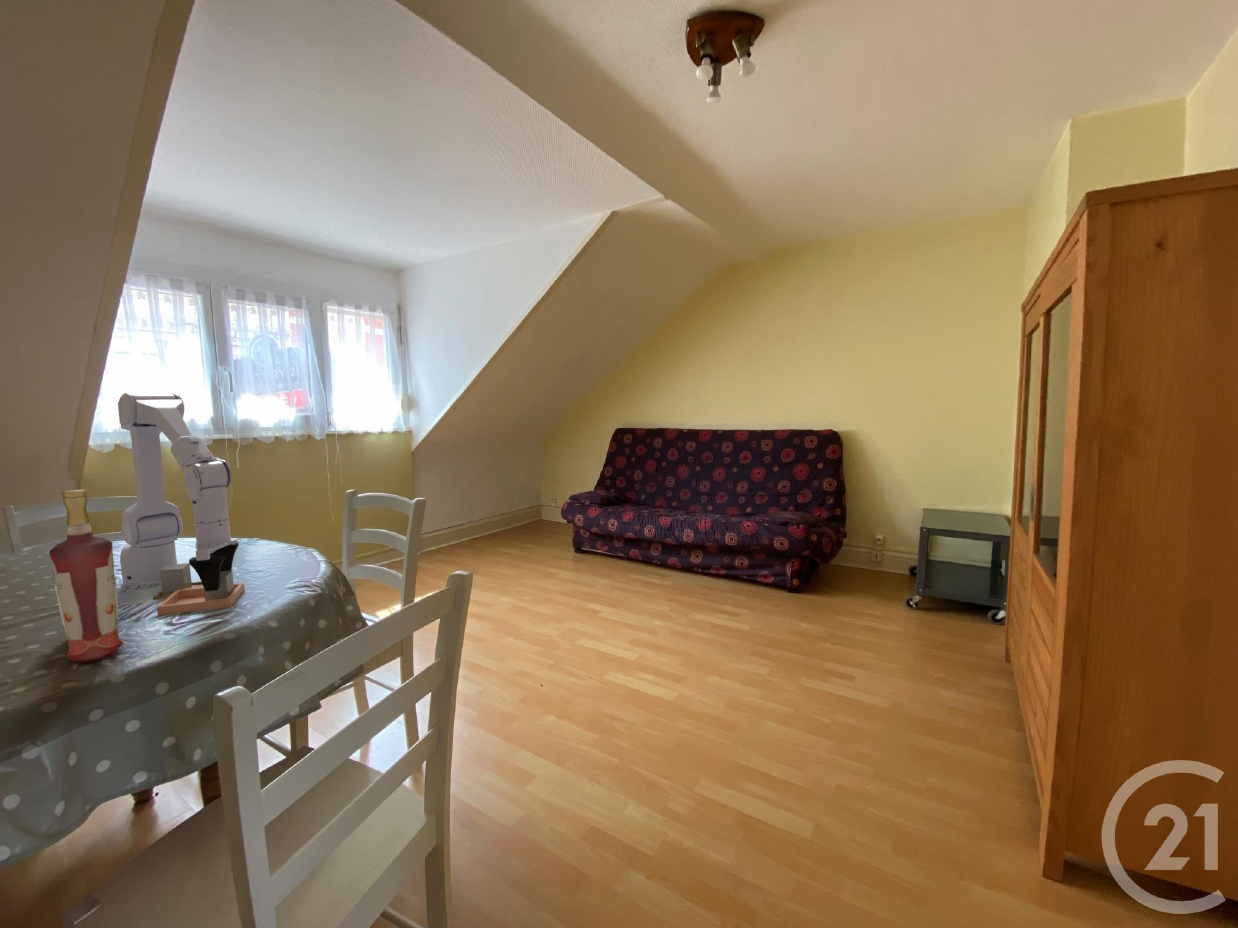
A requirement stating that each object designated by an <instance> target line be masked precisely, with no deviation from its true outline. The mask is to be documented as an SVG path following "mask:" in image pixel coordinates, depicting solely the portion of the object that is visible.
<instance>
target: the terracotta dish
mask: <svg viewBox="0 0 1238 928" xmlns="http://www.w3.org/2000/svg"><path fill="white" fill-rule="evenodd" d="M245 589H246V588H245V583H244V582H236V583H234V591H233V592H232V593H231V594H230V595H229V597H228V598H224V599H215V600H207V601H205V595H204V587H199V588H189V589H180V590H176V591H175V592H174V593H173V594H172V595H170V596H169V597H168V598H165V599H164V600H163V601H162V602H161V603H160V604H159V605H157V607H156V612H157V617H160V616H168V615H177V614H185V613H193V612H200V611H202V612H204V611H210V610H218V609H220V610H221V609H226V608H232V607H233V605H234V604H235V603H236V601H238V600H239V598H240V597H241V596H242V595H243V593H244V592H245Z"/></svg>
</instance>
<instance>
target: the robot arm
mask: <svg viewBox="0 0 1238 928" xmlns="http://www.w3.org/2000/svg"><path fill="white" fill-rule="evenodd" d="M119 397H120V398H119V399H118V401H117V402H118V403H117V411H118V419H119V420H118V421H119V424H120V428H121V429H123V430H126V431H129V433H130V438H131V447H132V448H131V450H132V459H133V460H132V461H133V470H134V481H135V489H136V502H135V503H134V504H132V505H131V506H129V507H128V508H126V509H125V510H124V511H123V512H122V515H121V516H122V519H121V521H122V522H121V524H120V525H121V526H120V528H121V529H120V530H121V536H122V539H123V540H124V542H125V544H126V545H124V546H123V547H122V549H121V551H120V554H119V555H120V557H119V563H120V572H121V578H122V585H121V587H130V586H139V585H151V584H161V578H160V570H161V569H163V568H164V567H165V566H167V565H174V564H178V562H177V561H178V560H177V559H178V558H177V551H176V542H175V541H178V540H179V539H178V537H180V536H181V534H182V533H183V532H184V530H183V529H184V522H183V519H182V517H181V513H180V509H179V507H178V506H177V505H176V504H174V503H172V502H169V501H167V500H166V493H165V482H164V473H163V472H164V471H163V461H162V458H163V457H162V450H161V438H160V434H162V433H163V435H164V436H165V437H166V438H167V439H168V440H169V442H170V443H171V446H170V453H171V454H172V456H173V458H174V459H175V461H176V462H177V464H178V465H179V467H180V468H181V469H182V470H183V477H182V478H183V483H184V485H185V487H186V490H187V494H188V495H187V496H188V497H187V498H189V500H191V502H192V503H191V504H192V514H193V521H194V531H195V541H196V542H195V545H194V546H195V549H196V550H195V557H194V556H193V557H191V558H190V559H189V560H188V563H189V564H190V567H191V568H193V569H194V570H195V571H194V572H196V574H197V575H198V577H199V579H200V581H201V582H202V585H203V587H204V589H205V591H215V590H218V589H219V585H220V572H221V571H231V570H232V568H233V563H234V558H235V554H236V551H237V549H238V547H239V538H238V537H236V538H235V537H233V538H232V536H231V528H230V527H231V526H230V516H229V515H230V514H229V505H228V504H229V503H228V494H227V488H228V487H229V486H230V485H231V482H232V473H231V469H230V465H228V463H227V461H226V460H224V459H220V458H219V457H215V456H214V455H213V454H212V452H211V451H210V449H209V448H208V446H207V445H206V443H205V442H204V441H203V439H202V438H200V437H198V436H194V435H192V433H191V431H190V430H189V428H188V425H187V424H186V421H185V420H184V415H185V404H184V400H183V399H182V397H181V396H180V394H178V393H176V392H170V393H129V392H125V393H123V394H122V395H121V396H119ZM232 571H233V570H232Z"/></svg>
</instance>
